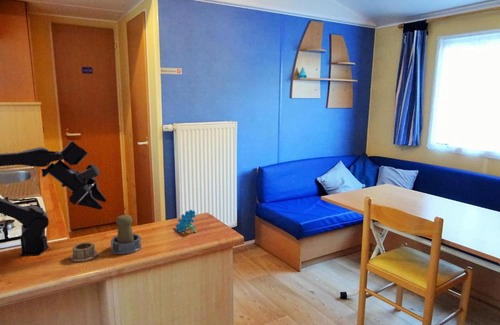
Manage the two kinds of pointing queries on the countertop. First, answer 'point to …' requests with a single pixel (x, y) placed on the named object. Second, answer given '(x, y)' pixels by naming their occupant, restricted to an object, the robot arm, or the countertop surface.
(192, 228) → the gear
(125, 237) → the cork
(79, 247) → the small collar
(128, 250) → the fitting collar
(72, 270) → the countertop surface
